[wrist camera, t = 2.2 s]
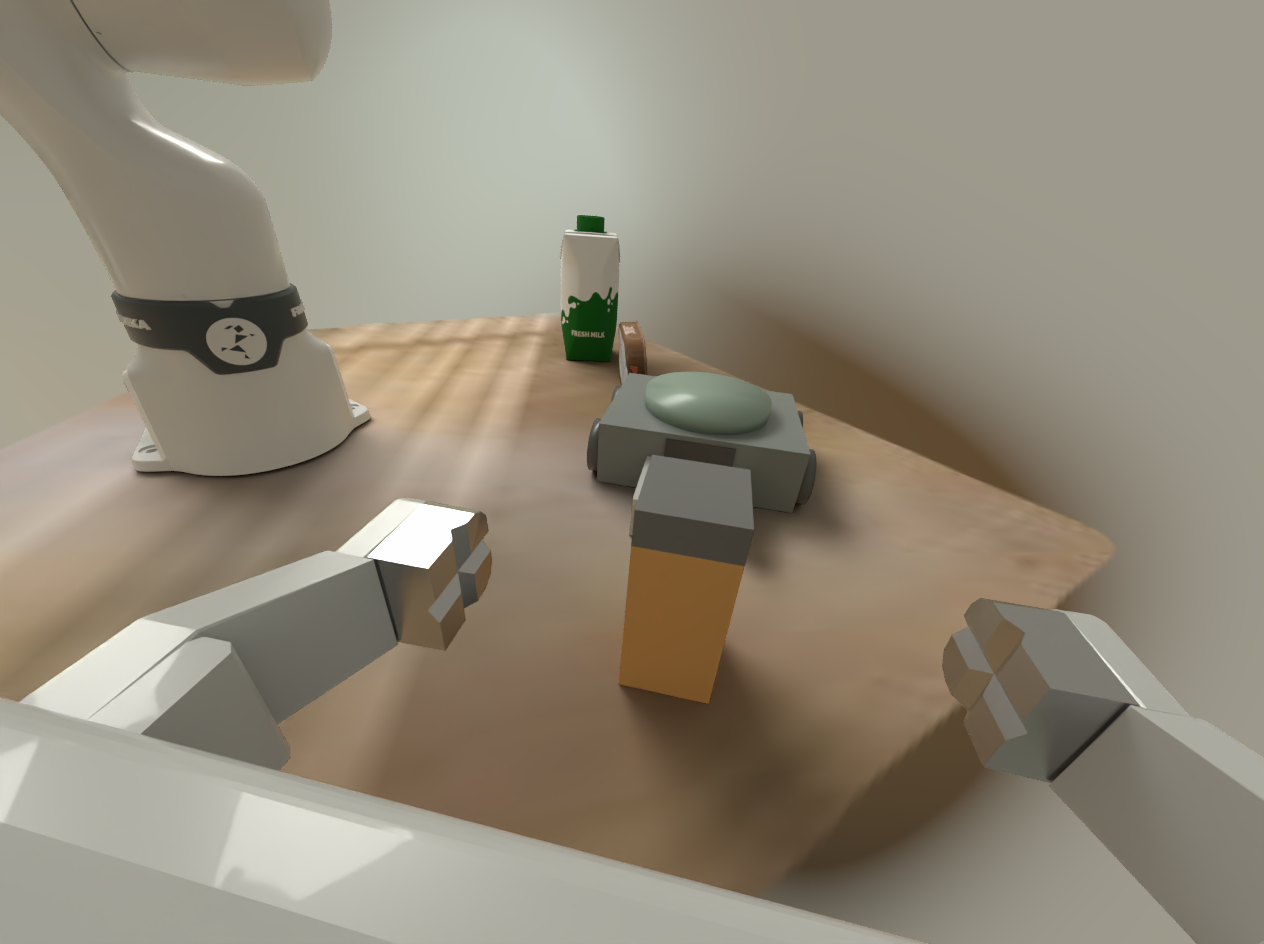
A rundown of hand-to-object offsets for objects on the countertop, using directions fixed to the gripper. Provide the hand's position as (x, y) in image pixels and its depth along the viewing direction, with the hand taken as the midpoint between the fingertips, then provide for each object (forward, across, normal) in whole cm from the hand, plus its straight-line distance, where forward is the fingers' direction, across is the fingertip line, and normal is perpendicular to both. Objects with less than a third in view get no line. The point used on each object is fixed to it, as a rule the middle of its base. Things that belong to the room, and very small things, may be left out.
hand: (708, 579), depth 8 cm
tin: (+55, +11, +18) cm, 58 cm away
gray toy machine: (+33, 0, +18) cm, 38 cm away
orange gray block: (+12, 0, +18) cm, 22 cm away
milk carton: (+67, +20, +17) cm, 72 cm away
